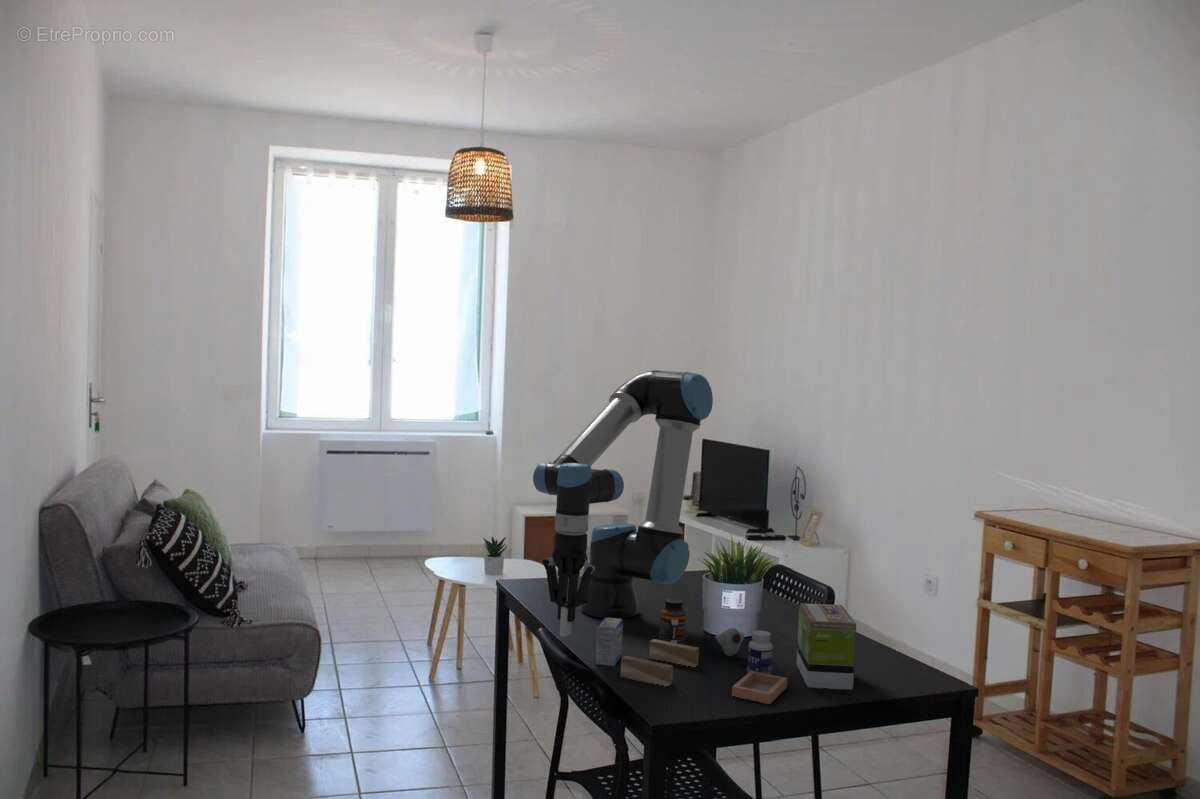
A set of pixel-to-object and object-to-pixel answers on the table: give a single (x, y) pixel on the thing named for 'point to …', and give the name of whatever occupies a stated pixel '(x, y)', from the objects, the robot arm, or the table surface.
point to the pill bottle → (760, 652)
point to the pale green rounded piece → (730, 641)
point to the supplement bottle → (672, 622)
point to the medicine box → (609, 641)
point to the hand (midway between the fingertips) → (565, 634)
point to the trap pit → (759, 687)
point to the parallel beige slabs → (659, 671)
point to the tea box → (826, 646)
